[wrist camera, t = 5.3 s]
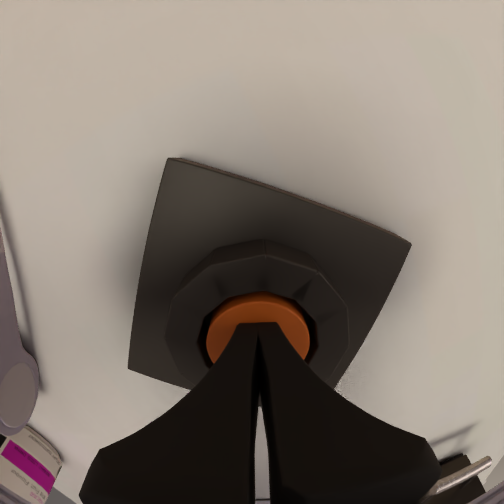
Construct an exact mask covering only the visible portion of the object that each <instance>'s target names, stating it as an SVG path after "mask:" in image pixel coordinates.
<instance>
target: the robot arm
mask: <svg viewBox="0 0 504 504" xmlns="http://www.w3.org/2000/svg"><path fill="white" fill-rule="evenodd" d="M259 392H260V399H261V406H262V412H263V419H264V426H265V432H266V439H267V446H268V459H269V484H270V500H266V501H255V438H256V427H257V416H258V404H259ZM441 474H442V468H441V466H440V464H439V462H438V460H437V458H436V456H435V454H434V452H433V450H432V448H431V447H430V446H429V444H428V443H427V441H426V439H425V438H423V437H420V436H418V435H415V434H412V433H410V432H407V431H404V430H402V429H399V428H397V427H394V426H392V425H390V424H388V423H386V422H384V421H382V420H380V419H378V418H376V417H374V416H372V415H370V414H368V413H367V412H365V411H363V410H362V409H360V408H359V407H357V406H356V405H354V404H353V403H351V402H350V401H348V400H346V399H345V398H344V397H342V396H341V395H340V394H339V393H337V392H336V391H335V390H334V389H332V388H331V387H330V386H329V385H328V384H327V383H325V382H324V381H323V380H322V379H321V378H320V377H319V376H318V375H317V374H316V373H315V372H314V371H313V370H312V369H311V368H310V367H309V366H308V364H307V363H306V362H305V361H304V360H303V359H302V357H301V356H300V355H299V354H298V352H297V351H296V350H295V349H294V347H293V346H292V345H291V343H290V342H289V340H288V339H287V337H286V336H285V334H284V333H283V331H282V329H281V328H280V326H279V324H278V323H277V322H258V323H239V324H238V325H237V326H236V328H235V331H234V333H233V335H232V337H231V339H230V340H229V342H228V344H227V345H226V347H225V349H224V350H223V352H222V353H221V355H220V356H219V358H218V359H217V360H216V362H215V363H214V364H213V366H212V367H211V368H210V369H209V371H208V372H207V373H206V375H205V376H204V377H203V378H202V379H201V380H200V381H199V383H198V384H197V385H196V386H195V387H194V388H193V389H192V390H191V391H190V392H189V393H188V394H187V395H186V396H185V397H183V398H182V399H181V400H180V401H179V402H178V403H177V404H175V405H174V406H173V407H172V408H171V409H169V410H168V411H167V412H166V413H164V414H163V415H162V416H160V417H159V418H157V419H156V420H154V421H153V422H151V423H150V424H148V425H147V426H145V427H144V428H142V429H140V430H139V431H137V432H135V433H134V434H132V435H130V436H128V437H126V438H124V439H122V440H120V441H117V442H115V443H113V444H111V445H109V446H107V447H104V448H102V449H100V450H99V451H98V453H97V455H96V457H95V458H94V460H93V462H92V464H91V466H90V468H89V470H88V473H87V475H86V478H85V480H84V483H83V485H82V488H81V490H80V493H79V497H80V499H81V501H82V503H83V504H420V503H419V500H420V499H421V498H422V497H423V496H424V495H425V494H426V493H427V492H428V491H429V490H430V489H431V488H432V487H433V486H434V485H435V484H436V483H437V481H438V480H439V478H440V476H441ZM0 504H32V503H31V502H29V501H27V500H26V499H24V498H22V497H21V496H19V495H17V494H16V493H14V492H13V491H11V490H9V489H8V488H6V487H5V486H3V485H2V484H1V483H0ZM468 504H504V481H503V482H501V483H500V484H498V485H497V486H495V487H494V488H492V489H491V490H489V491H488V492H486V493H484V494H483V495H481V496H479V497H478V498H476V499H474V500H473V501H471V502H469V503H468Z"/></svg>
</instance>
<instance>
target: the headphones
mask: <svg viewBox="0 0 504 504" xmlns="http://www.w3.org/2000/svg"><path fill="white" fill-rule="evenodd" d="M38 388H39V371H38V367H37V364H36V362H35V359H34V358H33V357H32V356H31V355H30V354H29V353H27V352H26V351H25V349H24V348H23V346H22V342H21V338H20V333H19V328H18V323H17V317H16V311H15V305H14V298H13V292H12V287H11V282H10V277H9V272H8V267H7V262H6V256H5V250H4V244H3V239H2V233H1V229H0V433H1V434H3V435H4V436H12V435H15V434H17V433H19V432H20V431H21V430H22V429H23V428H24V427H25V425H26V424H27V423H28V421H29V419H30V417H31V415H32V412H33V410H34V407H35V404H36V400H37V396H38Z"/></svg>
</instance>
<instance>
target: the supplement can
mask: <svg viewBox="0 0 504 504" xmlns="http://www.w3.org/2000/svg"><path fill="white" fill-rule="evenodd" d="M61 467H62V462H61V460H60V458H59V454H58V453H57V451H56V450H55V449H54V448H53V447H52V446H51V445H50V443H48V442H47V441H46V440H45V439H44V438H43V437H42V436H40V435H39V434H38V433H37V432H35V431H34V430H33V429H31V428H30V427H28V426H27V425H25V427H24V428H23V429H22V430H21V431H20V432H19V433H17V434H15V435H12V436H4V435H3V434H1V433H0V483H1V484H2V485H3V486H5V487H6V488H8V489H9V490H11V491H13V492H14V493H16V494H17V495H19V496H21V497H22V498H24V499H26V500H27V501H29V502H31V503H32V504H45V502H46V500H47V498H48V495H49V493H50V491H51V489H52V486H53V484H54V482H55V480H56V478H57V476H58V473H59V471H60V469H61Z"/></svg>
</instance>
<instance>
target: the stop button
mask: <svg viewBox="0 0 504 504" xmlns="http://www.w3.org/2000/svg"><path fill="white" fill-rule="evenodd" d="M258 322H277V323H278V324H279V326H280V328H281V329H282V331H283V333H284V334H285V336H286V337H287V339H288V340H289V342H290V343H291V345H292V346H293V347H294V349H295V350H296V351H297V352H298V354H299V355H300V356H301V357H302V359H303V360H304V359H305V357H306V355H307V353H308V349H309V344H310V336H309V332H308V328H307V325H306V322H305V319H304V316H303V313H302V309H301V307H300V305H299V304H298V303H297V302H296V301H295V300H294V299H290V298H287V297H283V296H280V295H276V294H273V293H269V292H266V291H260V292H254V293H249V294H243V295H238V296H232V297H228V298H227V299H226V300H225V301H223V302H222V303H221V304H220V305H218V306H217V307H216V308H215V309H213V313H212V317H211V321H210V325H209V329H208V334H207V339H206V345H207V351H208V354H209V356H210V358H211V360H212V362H213V363H215V362H216V360H217V359H218V358H219V356H220V355H221V353H222V352H223V350H224V349H225V347H226V345H227V344H228V342H229V340H230V339H231V337H232V335H233V333H234V331H235V328H236V326H237V325H238V324H239V323H258Z"/></svg>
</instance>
